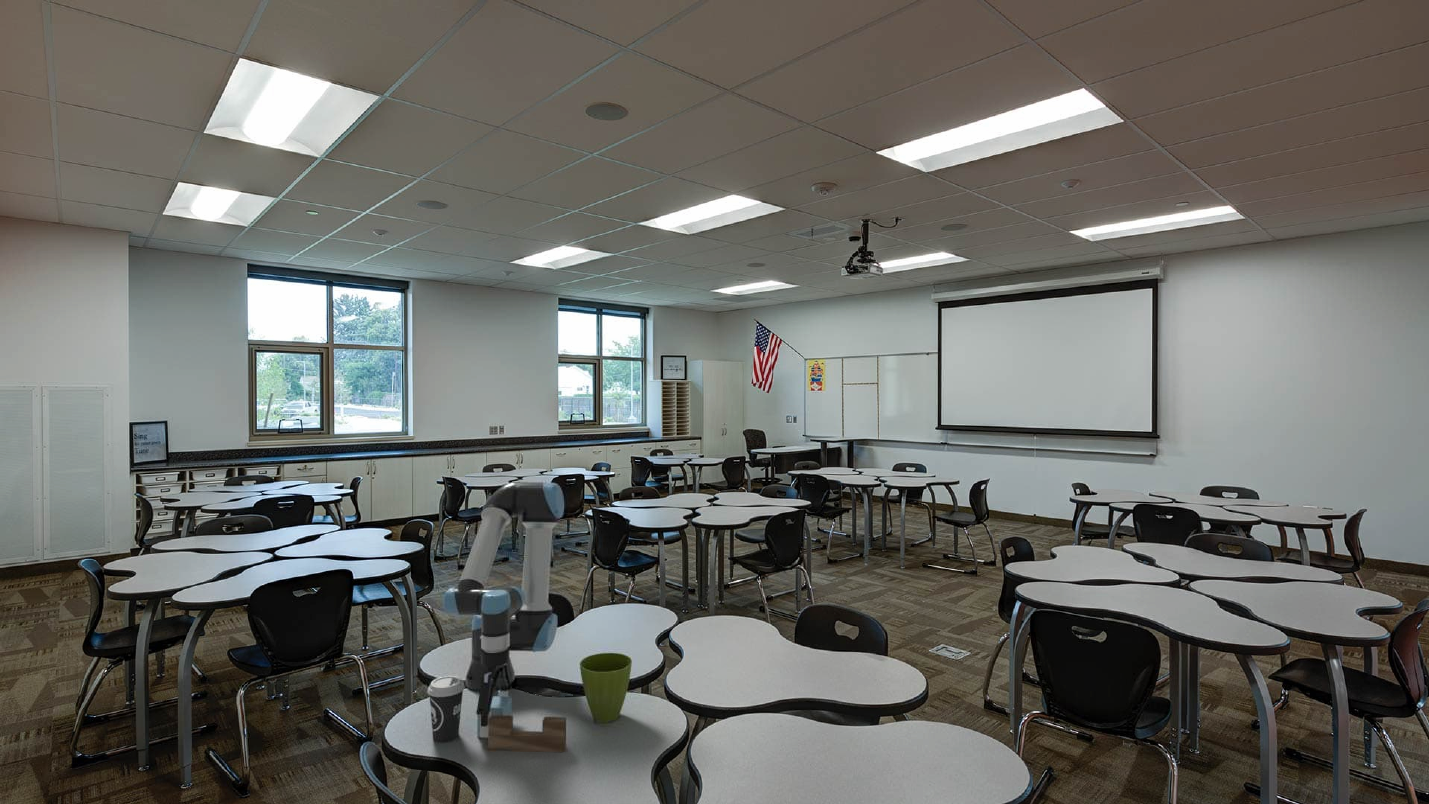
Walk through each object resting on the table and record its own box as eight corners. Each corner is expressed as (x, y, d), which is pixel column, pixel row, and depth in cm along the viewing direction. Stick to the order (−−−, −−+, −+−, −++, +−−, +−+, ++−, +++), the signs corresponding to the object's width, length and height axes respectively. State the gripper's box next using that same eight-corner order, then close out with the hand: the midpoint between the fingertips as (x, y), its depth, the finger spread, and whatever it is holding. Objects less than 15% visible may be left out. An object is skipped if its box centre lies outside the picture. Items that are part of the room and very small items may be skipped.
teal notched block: (486, 724, 193) (487, 696, 193) (511, 725, 193) (511, 696, 193) (477, 736, 186) (477, 707, 186) (502, 737, 186) (502, 708, 186)
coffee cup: (451, 747, 180) (452, 690, 180) (419, 743, 182) (419, 687, 182) (471, 730, 190) (471, 676, 190) (440, 726, 192) (440, 673, 192)
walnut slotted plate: (491, 745, 182) (491, 715, 182) (566, 747, 181) (566, 717, 181) (488, 749, 179) (488, 719, 179) (563, 752, 179) (564, 721, 179)
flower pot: (569, 723, 194) (569, 667, 194) (596, 701, 208) (597, 649, 208) (614, 733, 189) (615, 675, 189) (640, 710, 203) (640, 656, 203)
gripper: (497, 632, 202) (496, 704, 202) (463, 665, 177) (462, 747, 177) (522, 633, 202) (522, 705, 202) (492, 665, 177) (491, 747, 177)
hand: (494, 725), depth 189 cm, fingers open, 13 cm apart
